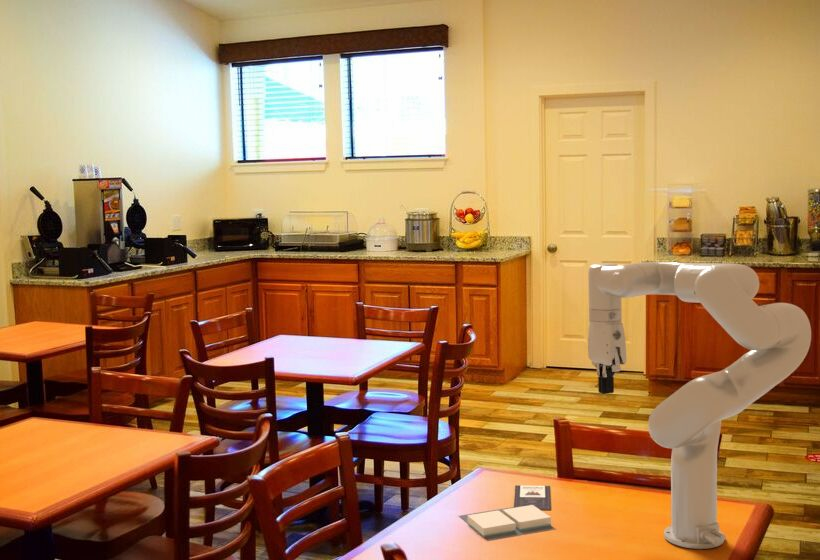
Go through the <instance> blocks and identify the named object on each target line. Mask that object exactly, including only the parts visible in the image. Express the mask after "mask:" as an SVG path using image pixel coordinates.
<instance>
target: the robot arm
mask: <svg viewBox="0 0 820 560" xmlns="http://www.w3.org/2000/svg"><path fill="white" fill-rule="evenodd" d="M587 274H588V323H589V326H588V332H587V333H588V335H587V356H588V359H589V360H590V361H591V364H592V365H593V366H594V367H595V368H596V374H597V377H598V380H597V382H598V384H597V385H598V391H597V392H598V393H599V394H602V395H606V394H614V392H615V389H614V388H615V386H614V384H615V378H614V377H615V376H616V372H620V371H621V369H622V368H621V365H626V363H627V345H626V335H625V328H624V324H623V322H622V321H623V320H622V319H623V317H622V314H623V313H622V312H623V311H622V299H627V298H635V297H640V296H647V295H667V296H669V295H670V296H671V295H672V296H676V297H677V298H678V299H679V301H680V300H681V301H682V302H686V303H699V304H701V305H702V307H704V309H705V310H706V311H707V312H708V313H709V314H710V316H711V317H712V318H713V319H714V320H715V321H716V323H718V324H719V325H720V326H721V328H722V329H723V330H724V331H725V332H726V333H727V334H728V335H729V336H730V337H731V338H732V339H733V341H735V342H736V343H737V344H739V345H740V347H741V346H742V347H743V348H744V349H747V350H749V351H747V352H746V353H744V354H743V355H741V356H740V357H739V358H738V359H737V360H736V361H734V362H733V363H732V364H730V365H729V366H727V367H725V368H723V369H722V370H719V371H716V372H713V373H709V374H705V375H702V376H699V377H696V378H693V379H692V380H690V381H688V382H687V383H685V384H684V385H682V386H681V387H680V388H679V389H677V390H676V391H674V392H673V393H672V394H671V395H669V396H668V397H666V399H664V400H663V401H662V402H660V403H659V404H657V406H655V407H654V408H653V410H652V411H651V412H650V415H649V417H648V421H647V423H648V424H647V428H648V433H649V435H650V438H651V439H652V440H653V441H654V442H655V443H656V444H657V445H659V446H660V447H662V448H666V449H671V458H670V487H671V488H670V501H671V502H670V504H671V505H670V508H671V509H670V510H671V511H670V512H671V513H670V516H671V517H670V520H671V521H670V522H671V525H669V526H667V527H665V529H664V531H663V537H664V538H665V540H666V541H668V542H669V543H671V544H673V545H675V546H678V547H682V548H687V549H693V550H694V549H695V550H707V549H713V548H717V547H720V546H721V545H723V544H724V543H725V540H726V539H727V538H726V535H725V534H724V533H723V532H722V530H720V523H718V518H717V516H718V507H717V505H718V498H717V497H718V494H717V493H718V488H717V487H718V486H717V485H718V482H717V481H718V447H719V440H720V435H721V430H722V429H721V428H722V421H723V420H725V419H729V418H731V417H734V416H736V415H739V414H740V413H742V412H743V411H744V410H746V408H748V407H749V406H751V405H752V404H753V403H754V402H756V401H757V400H759V399H760V398H761V397H763V396H764V395H765V394H767V393H769V392H770V391H771V390H772V389H773V388H775V386H777V385H778V384H780V383H782V382H783V381H784V380H785V379H787V378H788V377H789V376H790V375H791V374H793V373H794V372H795V371H796V370H797V369H798V368H799V367H800V365H801V364H802V363H803V361H804V359H805V358H806V356H807V355H808V352H809V349H810V347H811V342H812V327H811V323H810V319H809V318H808V315H807V314H806V312H805V311H804V310H803V309H802V308H801V307H800V306H797V305H795V304H792V303H787V302H773V303H770V304H769V303H768V304H763V305H759V304H757V303H756V302H755V301H754V300H753V299H754V298H755V296H756V295H757V294H758V291H759V289H760V279H759V276H758V274H757V273H756V271H755V270H754V269H753V268H752V267H750V266H748V265H746V264H743V263H742V264H741V263H729V262H728V263H726V262H725V263H724V262H720V263H719V262H717V263H716V262H668V261H667V262H665V261H664V262H661V261H660V262H659V261H658V262H657V261H649V262H648V261H647V262H645V261H644V262H636V263H635V262H634V263H628V264H620V265H619V264H616V263H612V262H611V263H608V262H607V263H593V264H591V265H589V267H588V273H587Z"/></svg>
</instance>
